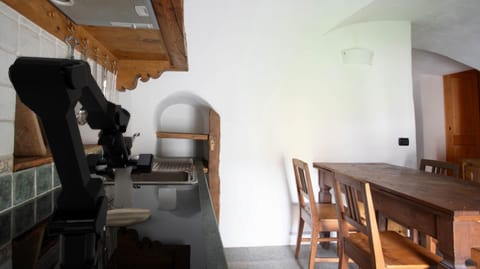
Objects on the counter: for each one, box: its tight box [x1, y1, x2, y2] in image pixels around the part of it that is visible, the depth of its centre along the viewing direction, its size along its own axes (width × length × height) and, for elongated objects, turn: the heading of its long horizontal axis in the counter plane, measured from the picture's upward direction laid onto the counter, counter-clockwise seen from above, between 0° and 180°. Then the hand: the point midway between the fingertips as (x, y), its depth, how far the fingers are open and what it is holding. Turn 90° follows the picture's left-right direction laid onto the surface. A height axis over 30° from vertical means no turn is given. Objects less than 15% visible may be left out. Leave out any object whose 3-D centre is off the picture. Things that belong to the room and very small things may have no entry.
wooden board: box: [92, 207, 152, 227], centre depth 78 cm, size 16×16×1 cm
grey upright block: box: [158, 186, 177, 212], centre depth 90 cm, size 6×6×7 cm
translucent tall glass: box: [113, 166, 134, 208], centre depth 79 cm, size 5×5×14 cm
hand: (125, 180), depth 80 cm, fingers closed on translucent tall glass, 5 cm apart
